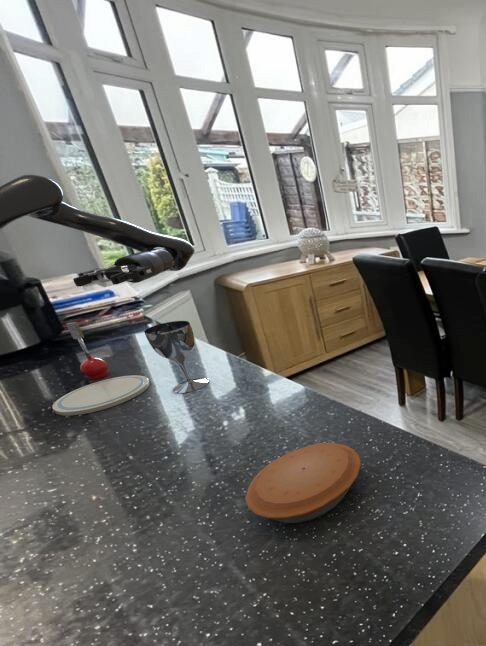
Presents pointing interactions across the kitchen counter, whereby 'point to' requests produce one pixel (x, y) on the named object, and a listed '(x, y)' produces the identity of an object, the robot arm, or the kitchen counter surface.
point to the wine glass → (175, 349)
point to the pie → (303, 483)
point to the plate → (101, 395)
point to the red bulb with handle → (88, 356)
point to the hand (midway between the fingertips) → (94, 281)
